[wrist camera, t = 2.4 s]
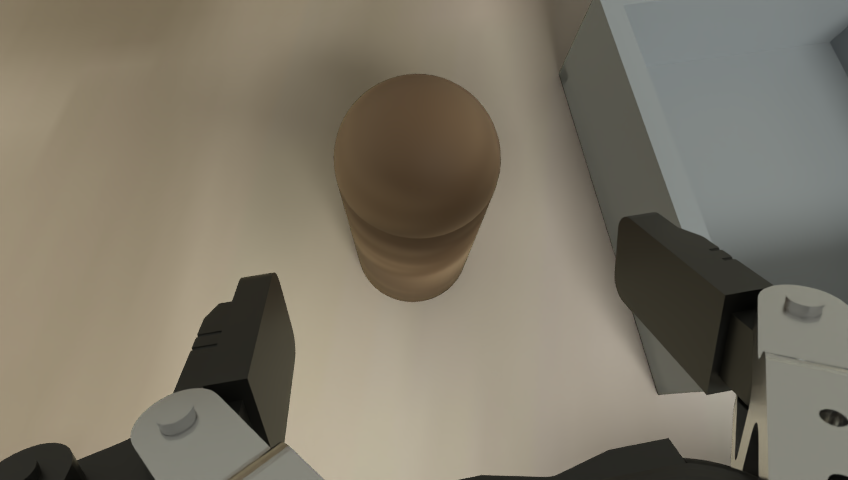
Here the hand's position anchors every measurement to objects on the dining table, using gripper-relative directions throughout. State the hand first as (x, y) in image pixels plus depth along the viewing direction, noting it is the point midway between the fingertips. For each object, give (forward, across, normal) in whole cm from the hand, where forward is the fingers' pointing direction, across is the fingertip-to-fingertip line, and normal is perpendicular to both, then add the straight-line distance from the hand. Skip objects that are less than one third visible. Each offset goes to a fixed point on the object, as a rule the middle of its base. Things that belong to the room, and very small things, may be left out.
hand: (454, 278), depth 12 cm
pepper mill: (+8, 0, +4) cm, 9 cm away
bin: (+9, -15, +4) cm, 17 cm away
